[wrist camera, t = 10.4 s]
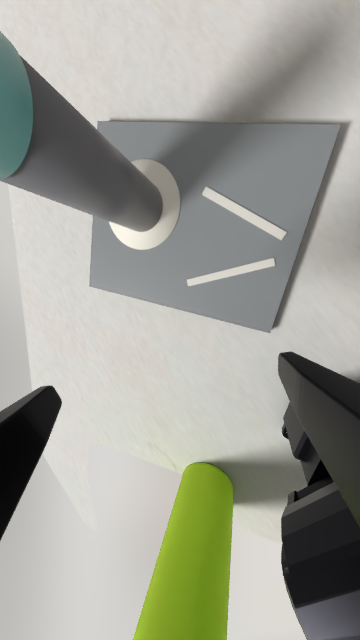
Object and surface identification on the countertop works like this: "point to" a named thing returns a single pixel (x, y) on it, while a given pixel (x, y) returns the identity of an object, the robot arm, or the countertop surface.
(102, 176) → the marker
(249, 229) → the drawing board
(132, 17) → the countertop surface
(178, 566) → the soap dispenser
